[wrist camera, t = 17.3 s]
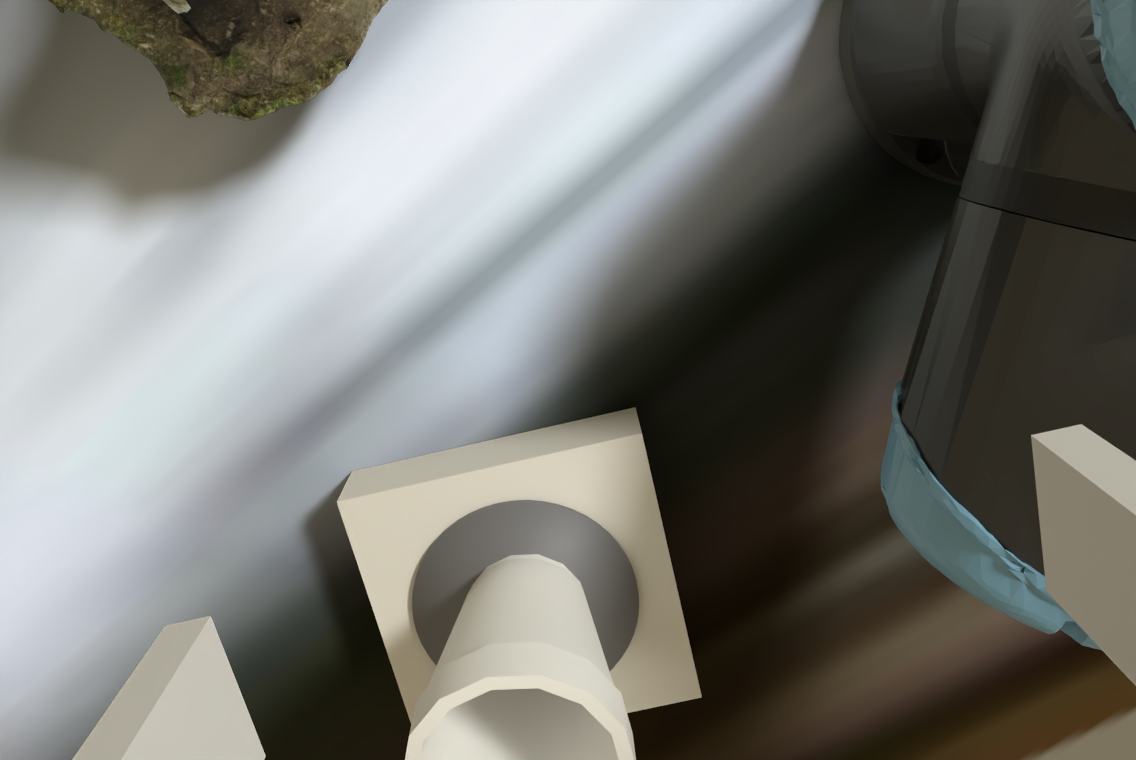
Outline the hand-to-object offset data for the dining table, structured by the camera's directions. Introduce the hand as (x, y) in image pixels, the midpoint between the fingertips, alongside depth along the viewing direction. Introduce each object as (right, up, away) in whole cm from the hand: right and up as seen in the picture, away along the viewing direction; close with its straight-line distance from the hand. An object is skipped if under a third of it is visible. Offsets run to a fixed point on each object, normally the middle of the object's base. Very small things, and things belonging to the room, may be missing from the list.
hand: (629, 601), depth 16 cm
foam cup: (-3, -8, +37) cm, 38 cm away
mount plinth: (-3, -7, +41) cm, 41 cm away
